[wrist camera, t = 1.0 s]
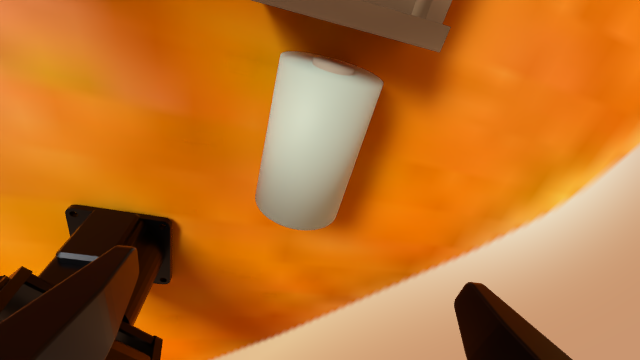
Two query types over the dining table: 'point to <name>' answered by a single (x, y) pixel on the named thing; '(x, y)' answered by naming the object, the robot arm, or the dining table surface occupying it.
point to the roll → (313, 138)
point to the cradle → (381, 17)
